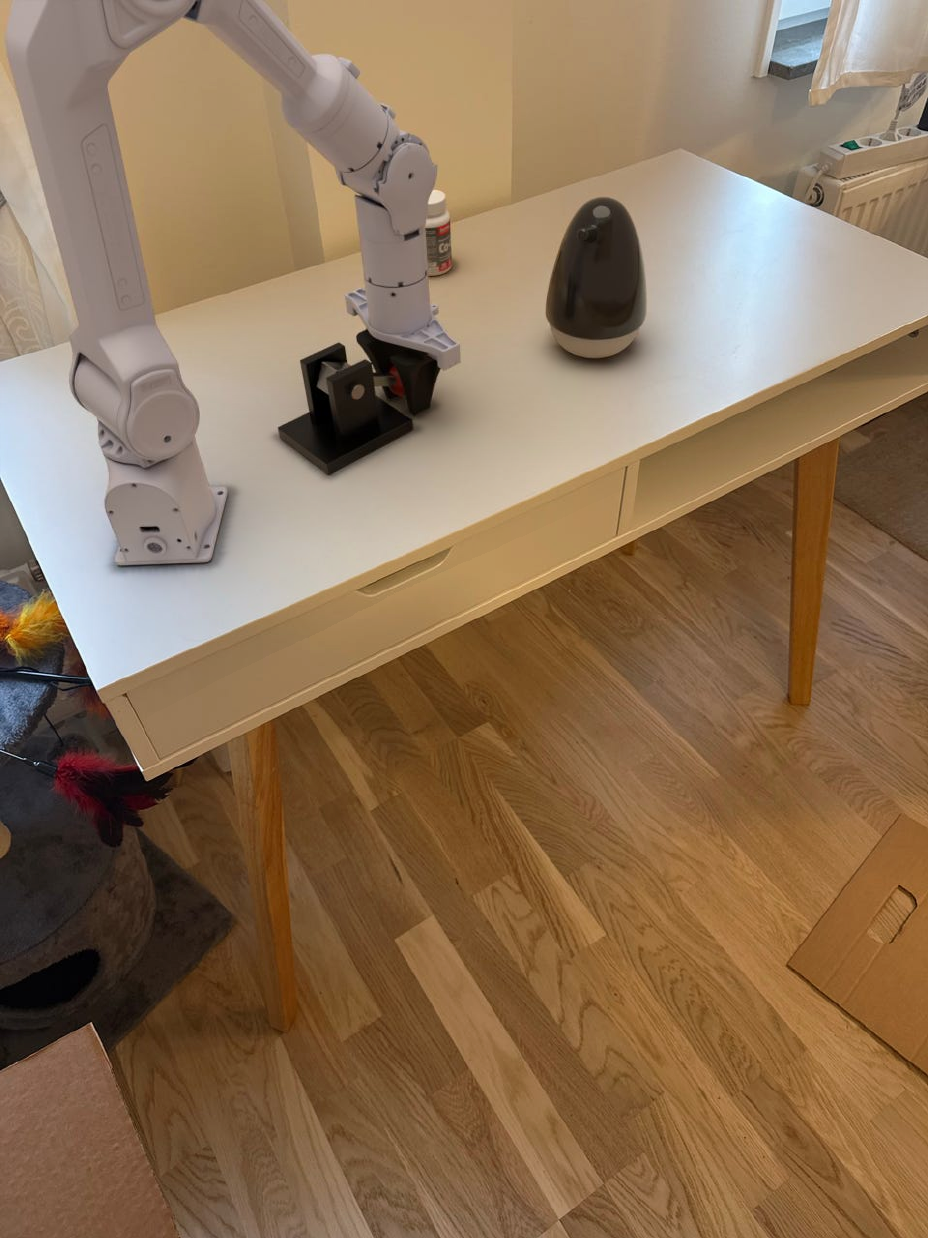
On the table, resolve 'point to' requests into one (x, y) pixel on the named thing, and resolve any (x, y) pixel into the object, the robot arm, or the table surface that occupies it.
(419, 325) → the robot arm
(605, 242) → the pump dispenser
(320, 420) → the bracket
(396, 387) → the lever
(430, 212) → the pill bottle
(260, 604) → the table surface
